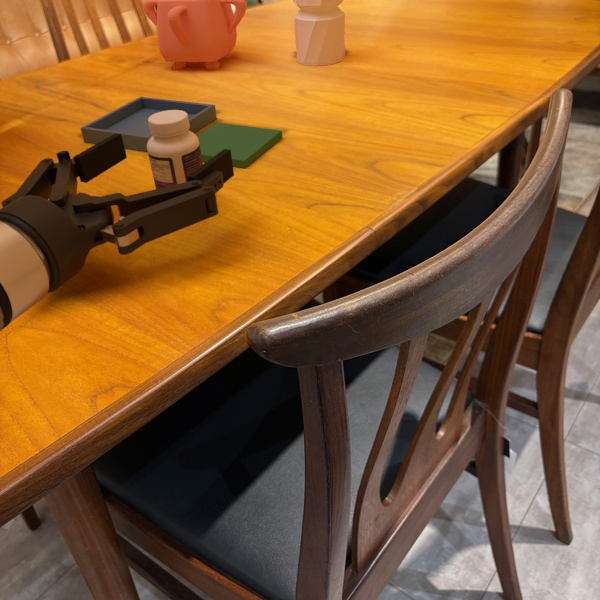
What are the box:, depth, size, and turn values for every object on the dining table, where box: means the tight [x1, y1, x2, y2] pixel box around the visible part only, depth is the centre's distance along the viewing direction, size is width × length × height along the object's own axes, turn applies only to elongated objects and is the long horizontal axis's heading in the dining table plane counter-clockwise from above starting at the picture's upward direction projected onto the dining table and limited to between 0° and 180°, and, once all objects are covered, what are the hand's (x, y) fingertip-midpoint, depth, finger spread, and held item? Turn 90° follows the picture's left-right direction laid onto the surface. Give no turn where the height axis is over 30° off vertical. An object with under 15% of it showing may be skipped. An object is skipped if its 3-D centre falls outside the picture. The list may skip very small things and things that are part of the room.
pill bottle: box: [147, 110, 204, 189], centre depth 64 cm, size 5×5×10 cm
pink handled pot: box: [142, 0, 248, 70], centre depth 109 cm, size 17×16×13 cm
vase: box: [292, 0, 346, 67], centre depth 106 cm, size 9×9×12 cm
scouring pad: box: [196, 122, 283, 169], centre depth 79 cm, size 10×10×1 cm
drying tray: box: [80, 96, 218, 153], centre depth 85 cm, size 13×13×2 cm
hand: (173, 153), depth 63 cm, fingers open, 13 cm apart
